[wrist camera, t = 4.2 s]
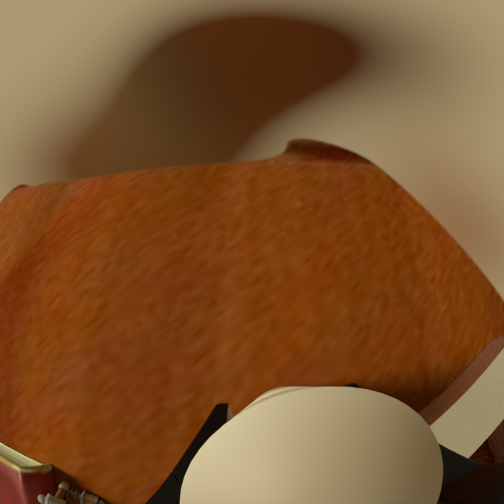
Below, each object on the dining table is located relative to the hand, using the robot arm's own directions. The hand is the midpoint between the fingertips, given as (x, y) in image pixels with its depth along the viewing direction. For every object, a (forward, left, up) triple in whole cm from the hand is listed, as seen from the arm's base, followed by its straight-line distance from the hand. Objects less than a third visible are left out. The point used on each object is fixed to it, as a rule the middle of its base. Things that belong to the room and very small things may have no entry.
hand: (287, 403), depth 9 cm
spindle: (-1, 0, -7) cm, 7 cm away
